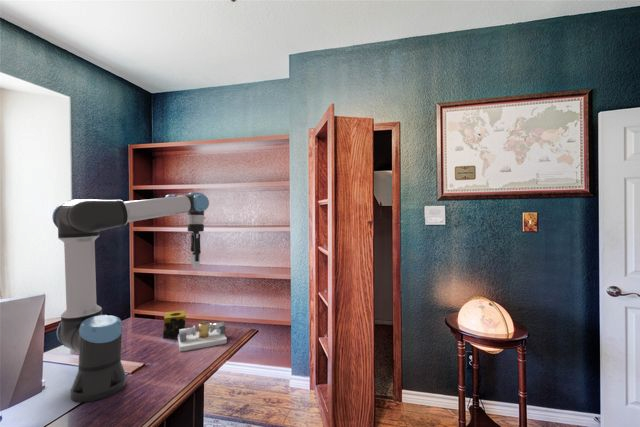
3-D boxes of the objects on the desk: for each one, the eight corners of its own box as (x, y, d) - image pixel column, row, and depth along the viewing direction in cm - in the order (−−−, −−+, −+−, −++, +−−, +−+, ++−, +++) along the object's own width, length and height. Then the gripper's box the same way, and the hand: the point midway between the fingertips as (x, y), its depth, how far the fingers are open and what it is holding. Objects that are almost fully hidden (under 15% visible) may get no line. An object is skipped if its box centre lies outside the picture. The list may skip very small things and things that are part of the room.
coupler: (199, 338, 139) (199, 324, 140) (197, 335, 144) (198, 321, 144) (209, 336, 142) (209, 323, 142) (208, 333, 146) (208, 320, 146)
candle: (163, 331, 153) (164, 312, 153) (185, 328, 157) (185, 309, 158) (162, 338, 144) (163, 318, 144) (185, 335, 148) (185, 315, 148)
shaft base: (179, 351, 130) (180, 333, 130) (177, 338, 144) (178, 322, 144) (226, 343, 140) (227, 326, 140) (220, 331, 154) (220, 316, 154)
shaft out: (212, 336, 142) (212, 324, 142) (208, 333, 146) (208, 321, 146) (225, 333, 147) (226, 321, 147) (221, 330, 150) (221, 319, 151)
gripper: (207, 224, 140) (206, 269, 139) (200, 223, 162) (199, 262, 161) (190, 224, 136) (189, 270, 136) (185, 223, 158) (184, 263, 157)
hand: (194, 266), depth 148 cm, fingers open, 13 cm apart
